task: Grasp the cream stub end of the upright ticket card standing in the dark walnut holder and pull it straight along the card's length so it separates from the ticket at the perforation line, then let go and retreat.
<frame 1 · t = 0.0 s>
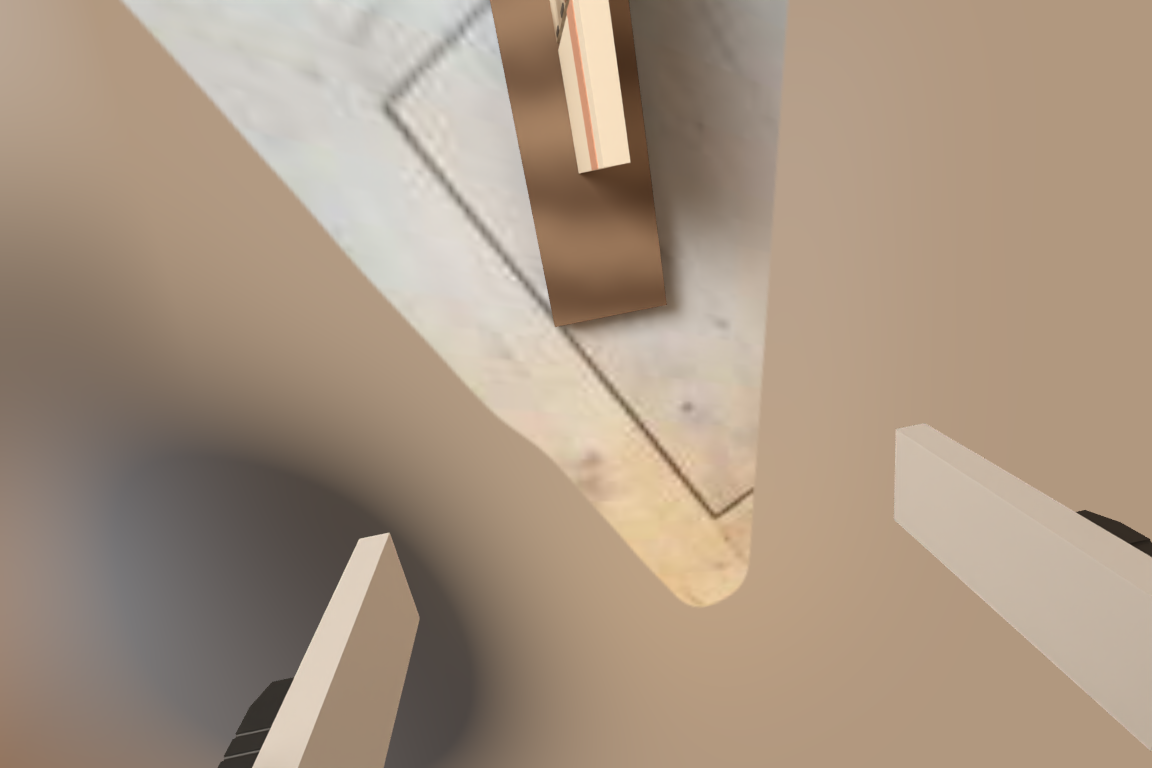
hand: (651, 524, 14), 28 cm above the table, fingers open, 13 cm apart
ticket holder: (567, 66, 35), on the table
stub: (588, 97, 29), point 8 cm above the table, slide at 0.0 cm
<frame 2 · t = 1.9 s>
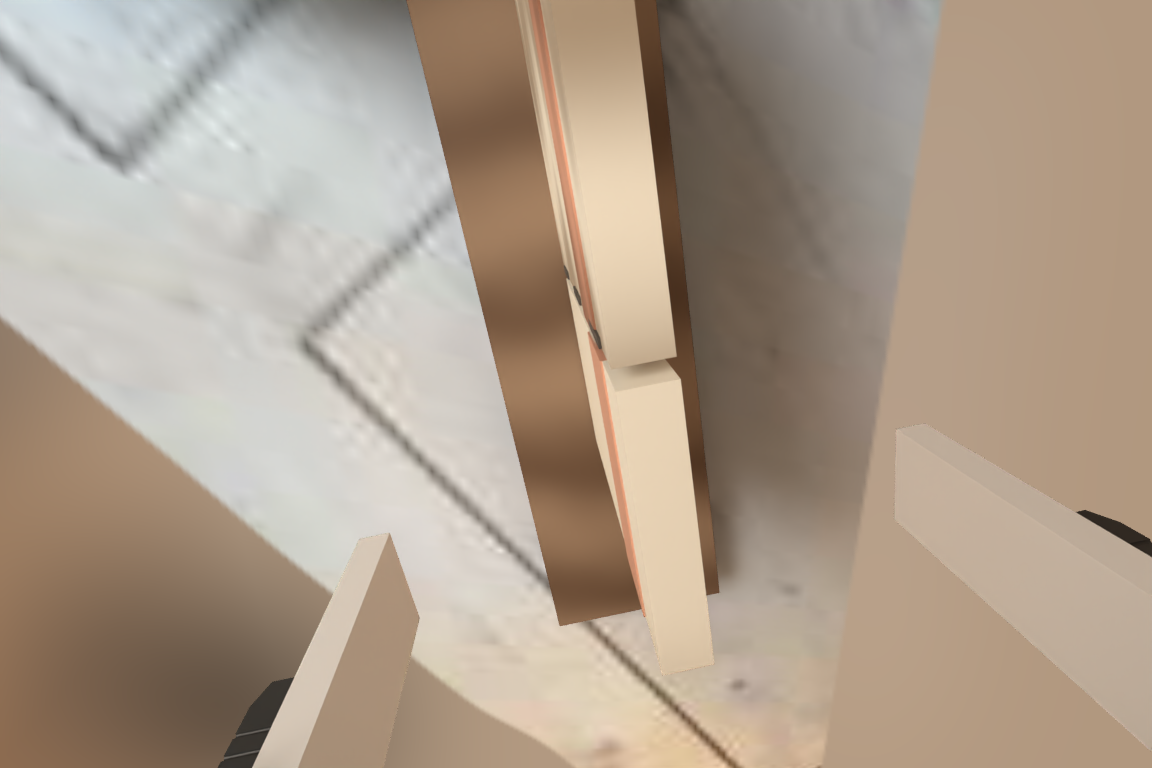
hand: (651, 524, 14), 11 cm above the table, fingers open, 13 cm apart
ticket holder: (579, 281, 23), on the table
stub: (621, 421, 17), point 8 cm above the table, slide at 0.0 cm
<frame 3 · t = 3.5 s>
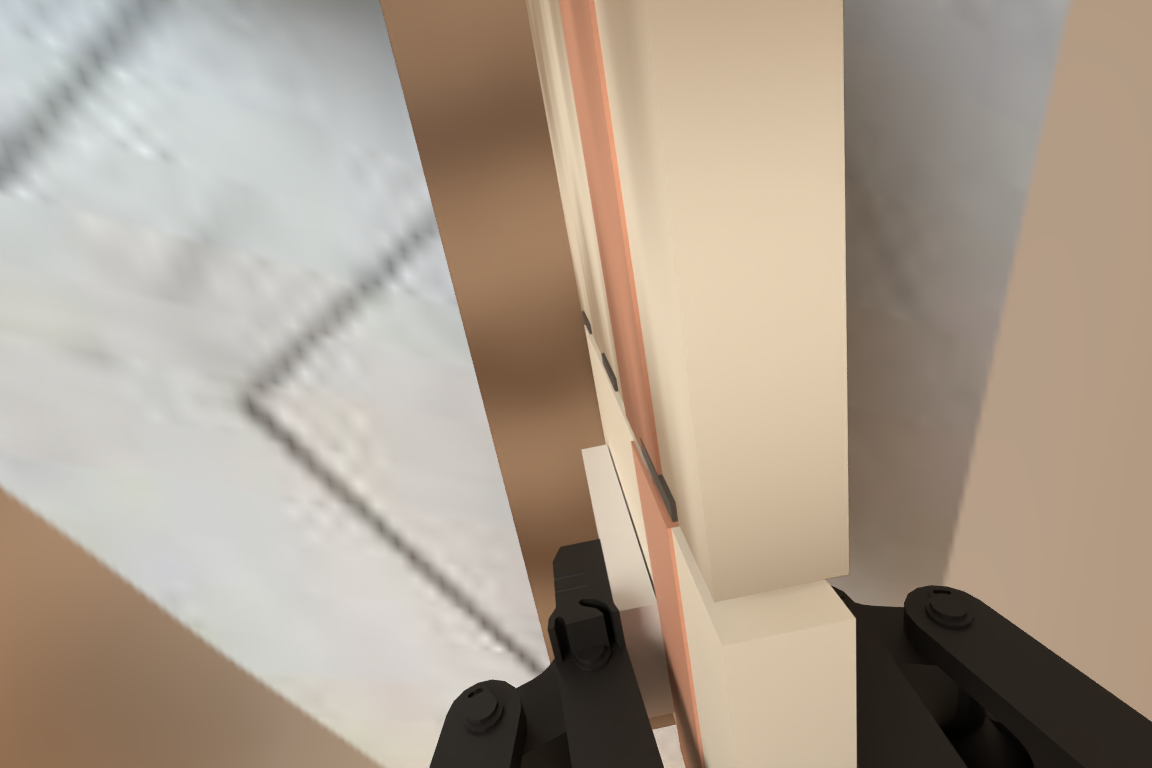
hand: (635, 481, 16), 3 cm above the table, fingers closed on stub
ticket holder: (598, 324, 18), on the table
stub: (669, 545, 12), point 8 cm above the table, slide at 0.0 cm, touching gripper
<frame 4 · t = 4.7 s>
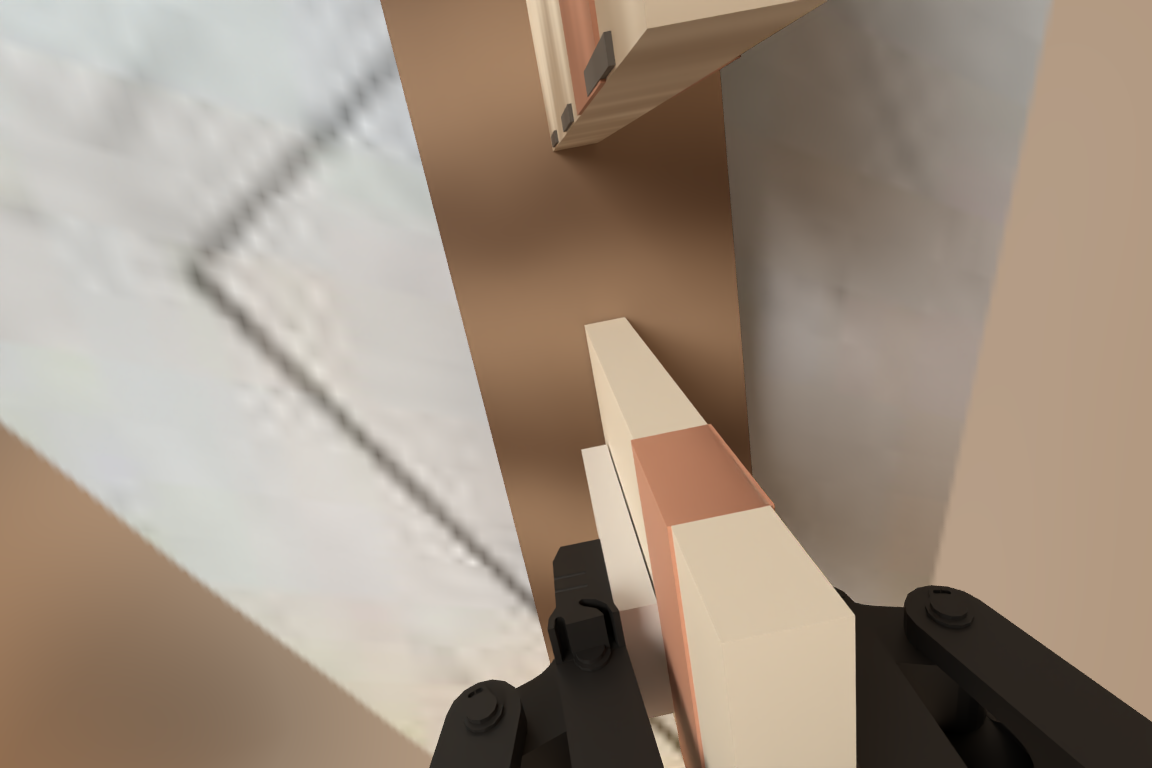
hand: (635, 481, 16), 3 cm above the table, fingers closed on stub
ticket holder: (575, 186, 17), on the table
stub: (669, 545, 12), point 8 cm above the table, slide at 4.3 cm, touching gripper
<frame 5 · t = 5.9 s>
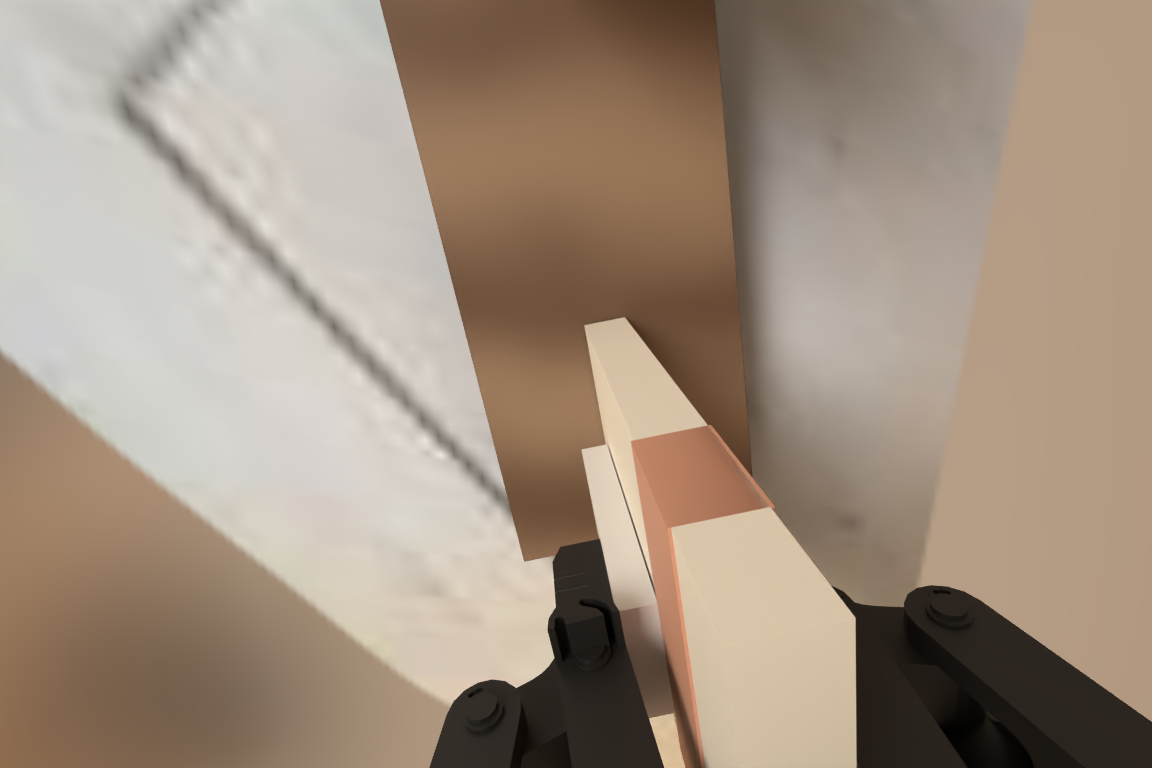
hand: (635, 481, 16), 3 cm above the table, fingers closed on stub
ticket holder: (545, 10, 15), on the table
stub: (669, 545, 12), point 8 cm above the table, slide at 8.9 cm, touching gripper
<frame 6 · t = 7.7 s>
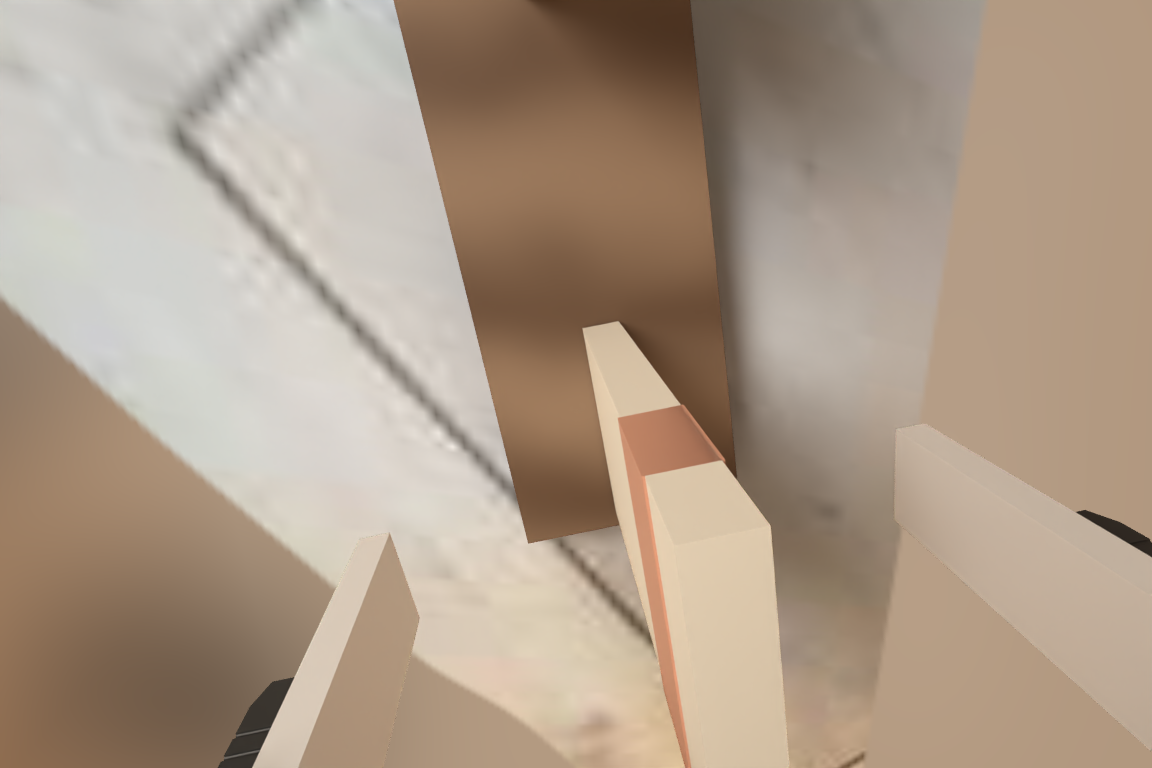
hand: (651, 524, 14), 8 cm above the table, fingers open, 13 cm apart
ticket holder: (547, 51, 17), on the table
stub: (654, 515, 14), point 8 cm above the table, slide at 9.0 cm
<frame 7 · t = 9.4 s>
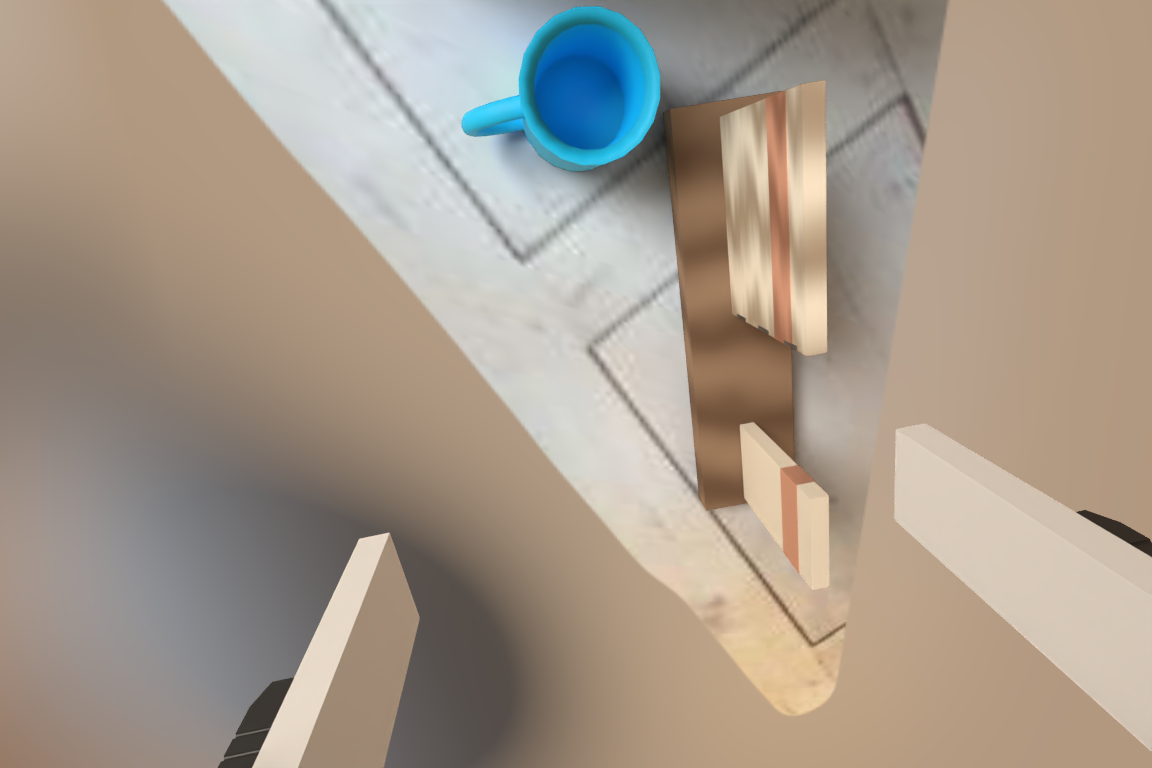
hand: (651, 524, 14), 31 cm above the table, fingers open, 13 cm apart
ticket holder: (731, 319, 45), on the table
stub: (779, 496, 42), point 8 cm above the table, slide at 9.0 cm
mug: (550, 115, 40), on the table
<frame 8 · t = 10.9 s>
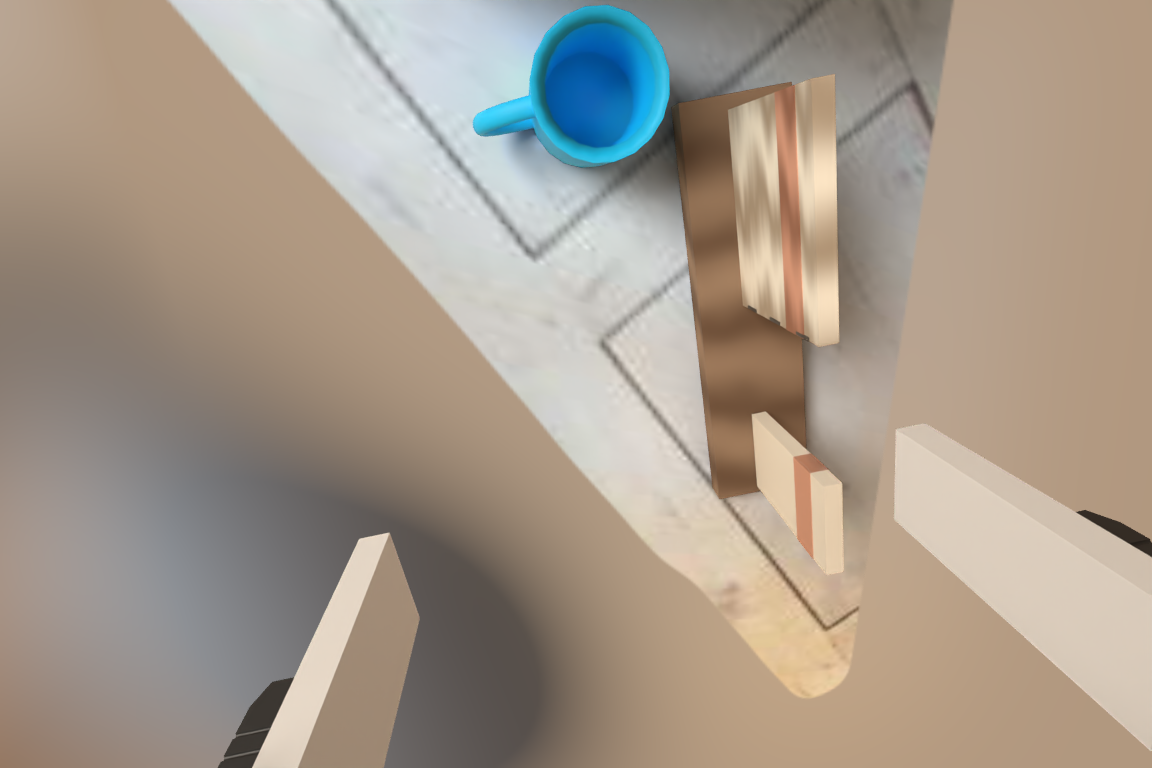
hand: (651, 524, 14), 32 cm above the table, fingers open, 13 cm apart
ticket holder: (741, 310, 46), on the table
stub: (792, 484, 42), point 8 cm above the table, slide at 9.0 cm
mug: (559, 113, 40), on the table
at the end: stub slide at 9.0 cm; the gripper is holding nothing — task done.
